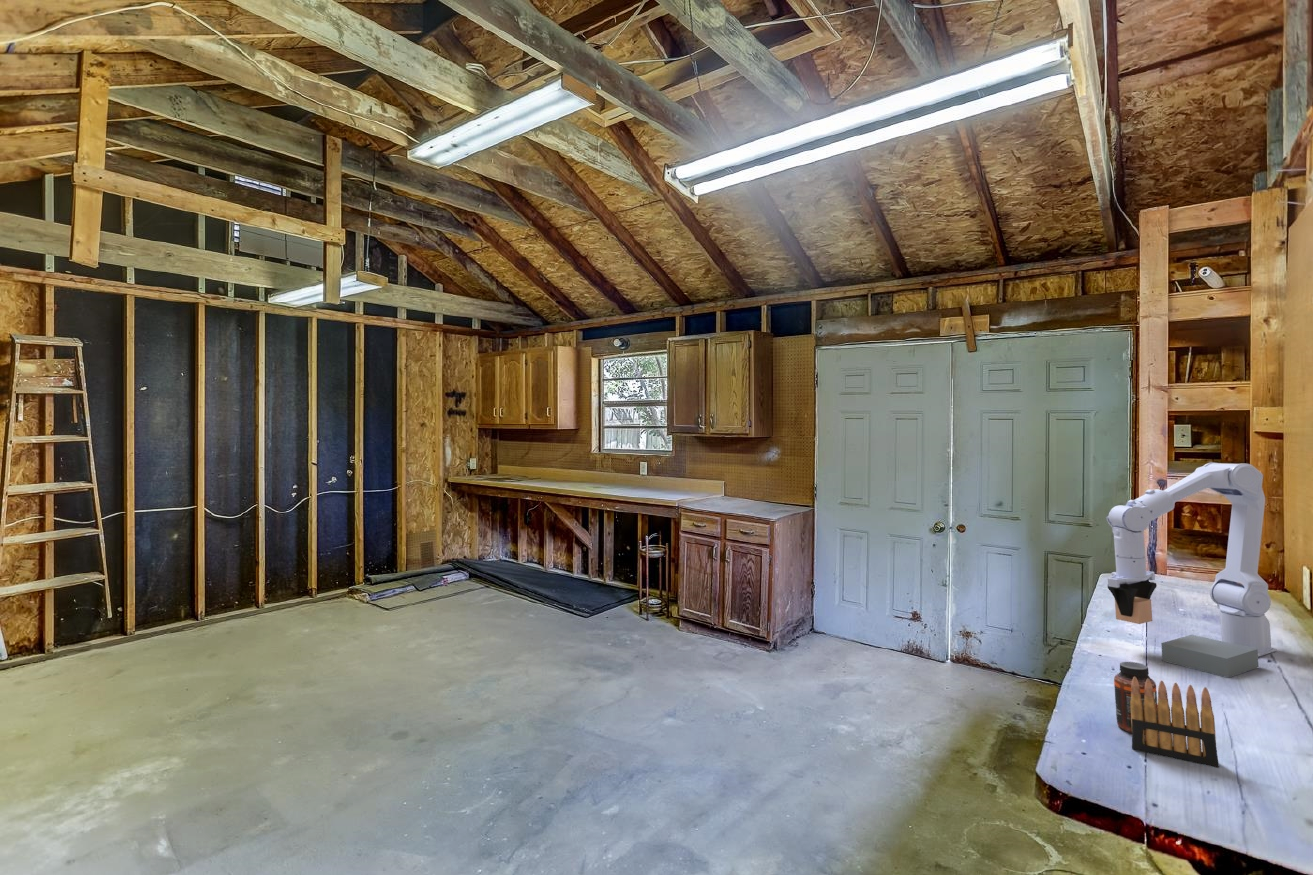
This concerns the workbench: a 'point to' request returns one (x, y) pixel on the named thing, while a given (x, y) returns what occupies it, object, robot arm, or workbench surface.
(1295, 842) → the workbench surface
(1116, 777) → the workbench surface
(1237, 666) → the slate plinth
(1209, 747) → the ammunition clip
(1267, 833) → the workbench surface
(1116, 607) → the terracotta cube
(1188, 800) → the workbench surface
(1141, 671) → the supplement bottle
